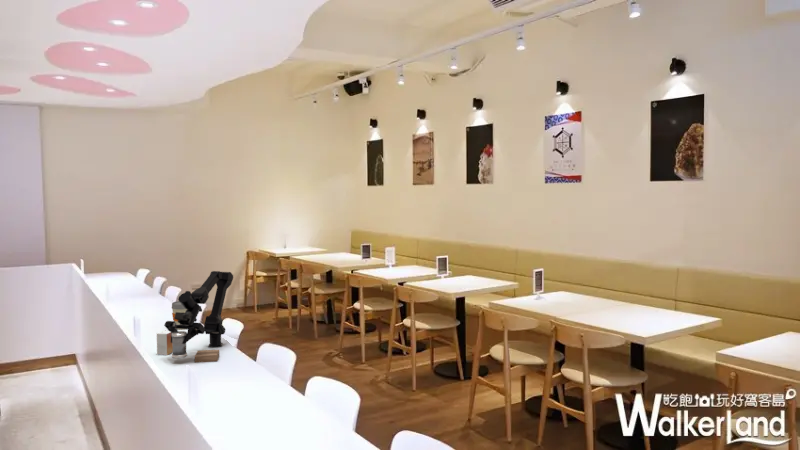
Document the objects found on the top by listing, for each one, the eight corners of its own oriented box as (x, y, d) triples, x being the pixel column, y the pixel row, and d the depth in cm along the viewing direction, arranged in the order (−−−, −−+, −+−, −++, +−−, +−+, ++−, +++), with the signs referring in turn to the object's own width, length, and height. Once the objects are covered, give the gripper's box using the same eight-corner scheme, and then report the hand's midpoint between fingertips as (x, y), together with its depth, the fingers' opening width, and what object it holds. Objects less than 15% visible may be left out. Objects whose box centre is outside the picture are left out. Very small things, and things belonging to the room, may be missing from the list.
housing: (173, 354, 276) (172, 331, 276) (188, 353, 278) (187, 330, 277) (170, 358, 270) (170, 334, 269) (185, 357, 271) (185, 334, 271)
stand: (197, 356, 283) (197, 350, 283) (219, 355, 285) (219, 349, 285) (194, 362, 273) (194, 356, 273) (217, 361, 275) (217, 355, 275)
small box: (167, 355, 285) (166, 334, 285) (156, 354, 286) (156, 333, 286) (176, 351, 293) (176, 330, 293) (166, 350, 294) (165, 329, 294)
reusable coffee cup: (199, 327, 345) (199, 302, 344) (181, 331, 334) (180, 305, 334) (185, 324, 352) (185, 299, 351) (167, 328, 341) (166, 303, 340)
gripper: (166, 304, 278) (151, 332, 268) (201, 305, 274) (187, 335, 264) (176, 317, 287) (162, 345, 277) (210, 319, 282) (198, 347, 272)
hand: (177, 342), depth 272 cm, fingers closed on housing, 6 cm apart
